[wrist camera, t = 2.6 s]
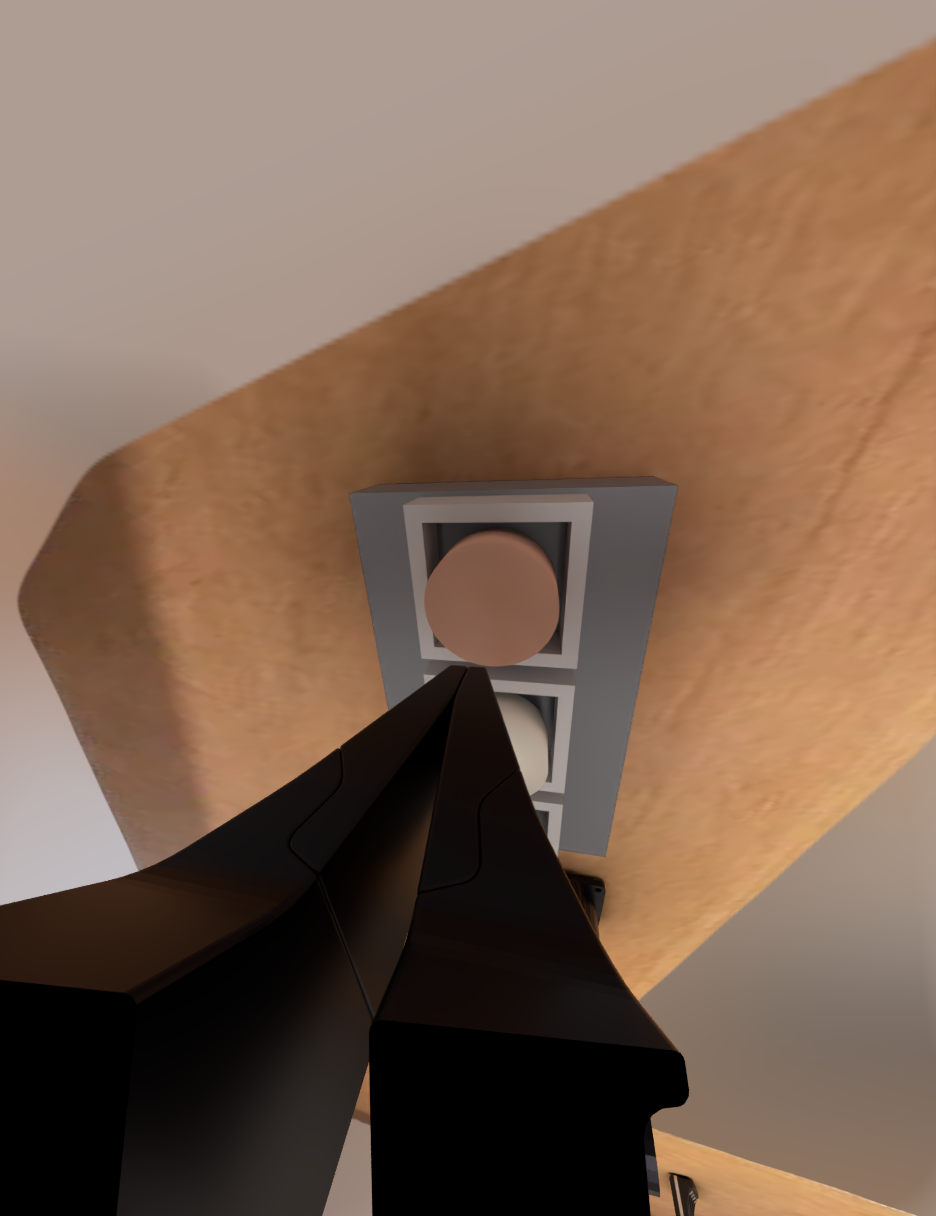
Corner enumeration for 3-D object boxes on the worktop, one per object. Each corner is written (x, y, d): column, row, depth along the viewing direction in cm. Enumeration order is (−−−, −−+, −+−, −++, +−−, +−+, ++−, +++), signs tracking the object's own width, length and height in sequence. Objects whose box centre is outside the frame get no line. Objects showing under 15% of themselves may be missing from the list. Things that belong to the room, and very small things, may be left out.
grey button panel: (598, 809, 23) (610, 892, 19) (423, 785, 26) (399, 854, 21) (653, 476, 15) (699, 493, 10) (379, 484, 17) (324, 501, 13)
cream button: (545, 768, 17) (545, 807, 15) (454, 757, 18) (444, 793, 16) (550, 694, 15) (551, 728, 13) (448, 686, 16) (436, 717, 14)
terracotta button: (553, 640, 14) (555, 670, 12) (443, 634, 15) (430, 662, 13) (560, 527, 12) (563, 543, 10) (434, 528, 13) (417, 543, 11)
